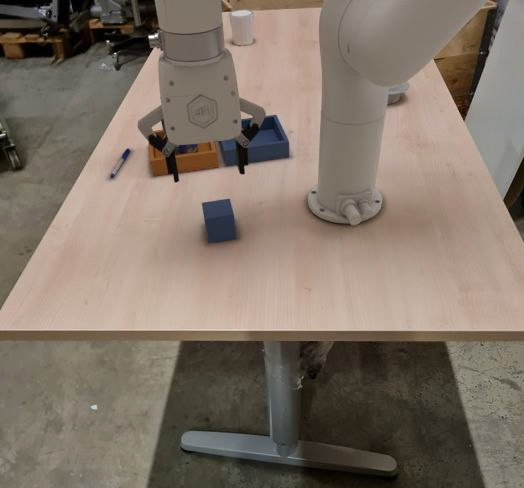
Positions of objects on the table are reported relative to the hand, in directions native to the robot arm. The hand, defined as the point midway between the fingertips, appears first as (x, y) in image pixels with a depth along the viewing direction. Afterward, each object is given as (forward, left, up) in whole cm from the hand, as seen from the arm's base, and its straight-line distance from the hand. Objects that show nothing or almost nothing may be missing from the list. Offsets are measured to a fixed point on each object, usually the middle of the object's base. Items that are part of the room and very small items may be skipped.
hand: (208, 173), depth 71 cm
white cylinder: (+88, -19, -11) cm, 91 cm away
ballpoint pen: (+27, +16, -11) cm, 33 cm away
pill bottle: (+27, +3, -10) cm, 29 cm away
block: (0, -1, -11) cm, 11 cm away
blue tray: (+27, -11, -11) cm, 31 cm away
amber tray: (+27, +3, -11) cm, 29 cm away
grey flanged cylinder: (+41, -44, -11) cm, 61 cm away
